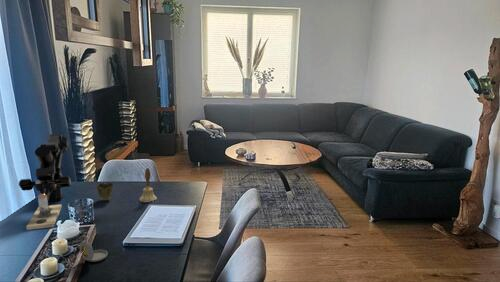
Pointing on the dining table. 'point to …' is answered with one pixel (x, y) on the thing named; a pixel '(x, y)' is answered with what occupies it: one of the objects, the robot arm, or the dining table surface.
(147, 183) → the hand bell
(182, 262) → the dining table surface
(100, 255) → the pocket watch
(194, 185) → the dining table surface
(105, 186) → the cup
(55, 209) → the pitch plate
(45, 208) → the grey copper topped cylinder
